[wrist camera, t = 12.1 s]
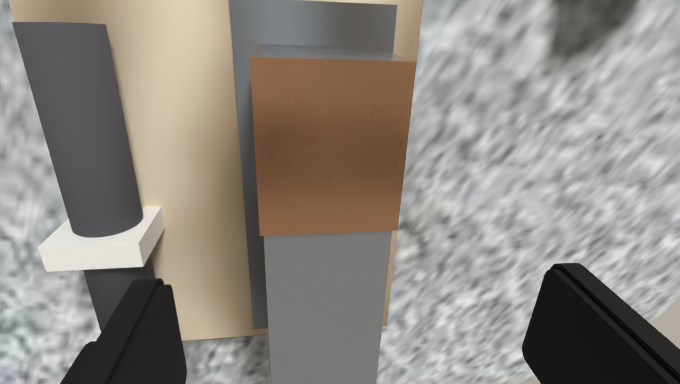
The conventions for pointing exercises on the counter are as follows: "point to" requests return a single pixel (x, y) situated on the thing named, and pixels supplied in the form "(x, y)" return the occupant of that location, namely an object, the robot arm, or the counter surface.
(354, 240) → the grey and copper block
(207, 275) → the board
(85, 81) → the rod
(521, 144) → the counter surface
